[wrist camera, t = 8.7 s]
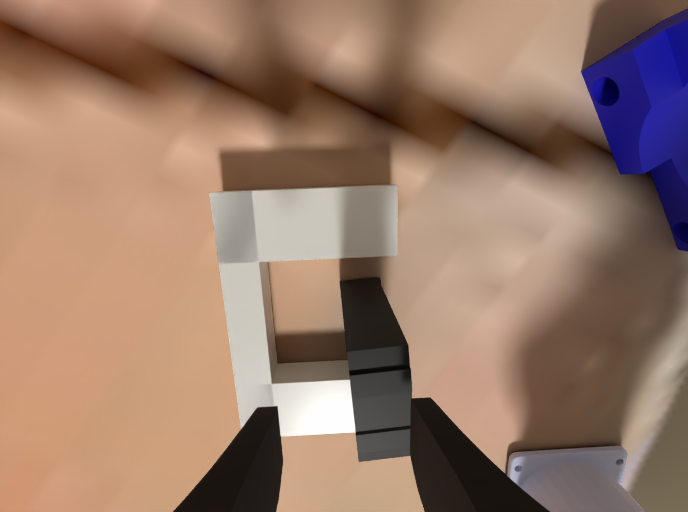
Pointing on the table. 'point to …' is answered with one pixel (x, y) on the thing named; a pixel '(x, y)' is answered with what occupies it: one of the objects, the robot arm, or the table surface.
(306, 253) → the groove holder
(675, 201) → the blue curved piece
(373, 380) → the ink cartridge
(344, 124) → the table surface
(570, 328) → the table surface
